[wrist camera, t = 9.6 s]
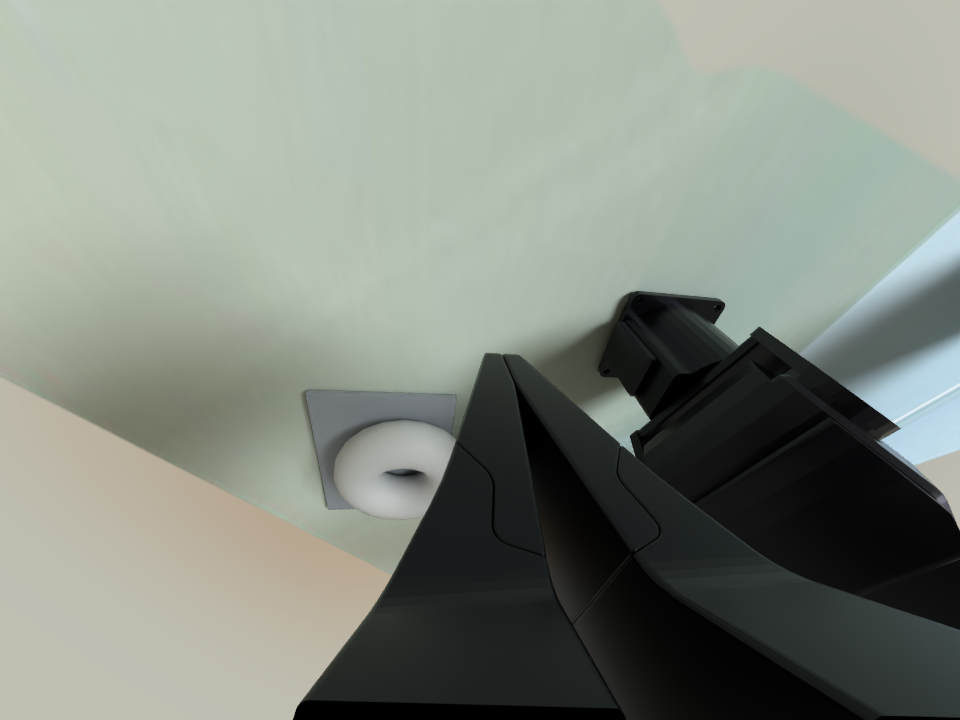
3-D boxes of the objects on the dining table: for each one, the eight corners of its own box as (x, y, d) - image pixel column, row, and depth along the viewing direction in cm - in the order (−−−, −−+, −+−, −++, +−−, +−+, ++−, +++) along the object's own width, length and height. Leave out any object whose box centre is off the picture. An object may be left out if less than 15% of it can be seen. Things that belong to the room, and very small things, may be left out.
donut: (414, 541, 30) (300, 503, 25) (416, 503, 32) (314, 462, 28) (499, 483, 26) (383, 425, 21) (493, 445, 29) (389, 387, 24)
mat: (456, 394, 25) (456, 398, 25) (440, 503, 34) (440, 507, 33) (307, 389, 24) (305, 394, 23) (329, 505, 32) (328, 509, 31)
